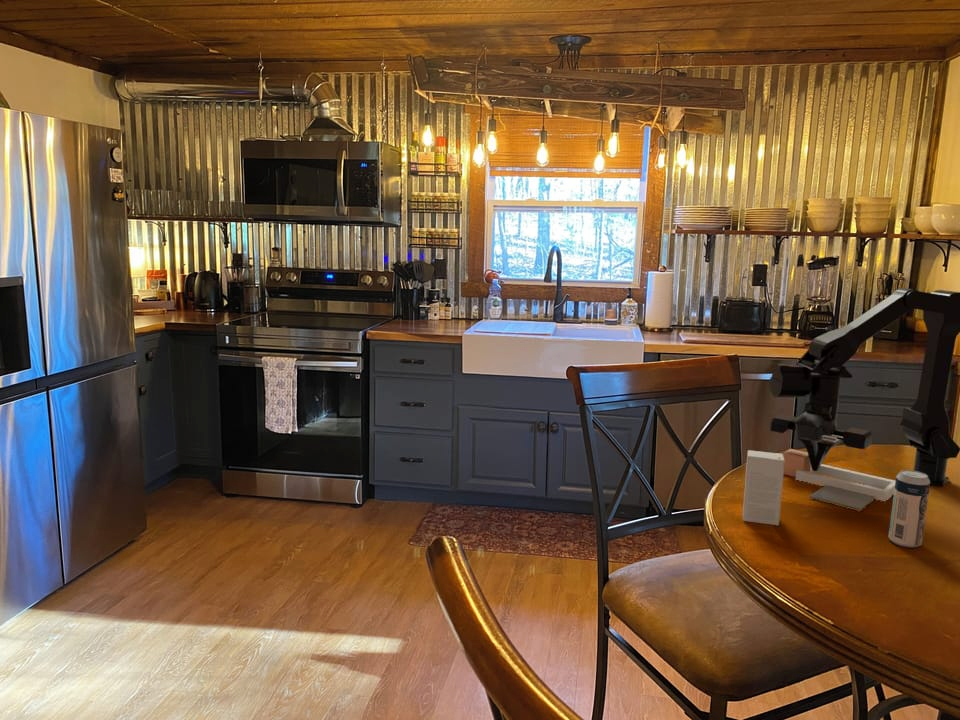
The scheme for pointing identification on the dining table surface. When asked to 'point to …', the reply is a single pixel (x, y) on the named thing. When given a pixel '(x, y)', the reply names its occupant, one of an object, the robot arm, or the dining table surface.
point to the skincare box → (763, 487)
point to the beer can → (909, 508)
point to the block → (796, 461)
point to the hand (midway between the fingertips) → (815, 470)
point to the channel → (849, 481)
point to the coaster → (842, 497)
